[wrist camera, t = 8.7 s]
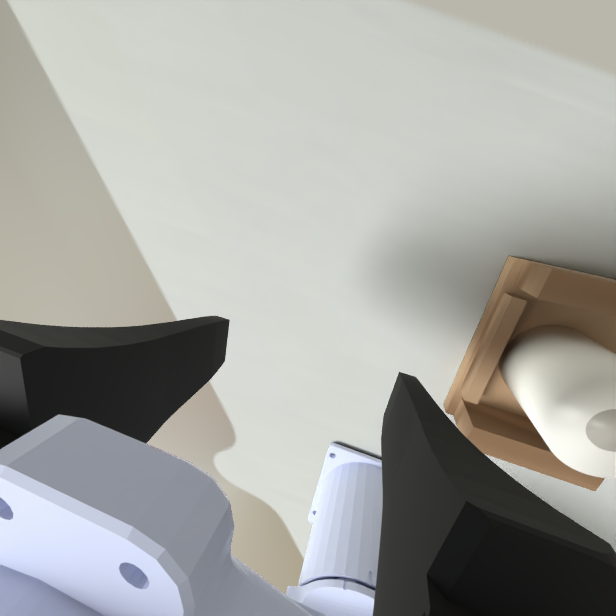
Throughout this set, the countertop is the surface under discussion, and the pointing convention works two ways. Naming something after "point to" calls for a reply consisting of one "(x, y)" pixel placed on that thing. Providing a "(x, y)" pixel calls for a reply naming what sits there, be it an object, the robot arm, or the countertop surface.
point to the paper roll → (566, 394)
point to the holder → (491, 343)
